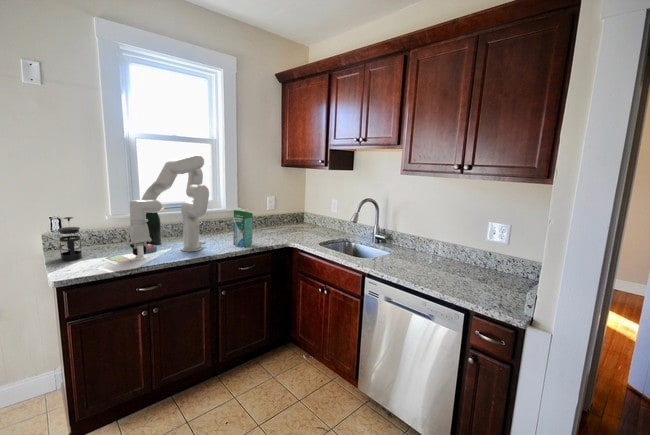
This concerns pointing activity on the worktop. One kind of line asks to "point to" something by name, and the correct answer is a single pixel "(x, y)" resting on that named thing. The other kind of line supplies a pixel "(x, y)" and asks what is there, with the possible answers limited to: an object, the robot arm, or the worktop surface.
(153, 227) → the green wine bottle
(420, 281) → the worktop surface
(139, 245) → the translucent whitish cylinder
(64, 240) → the french press
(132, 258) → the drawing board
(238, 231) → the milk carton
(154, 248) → the button housing
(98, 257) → the worktop surface
